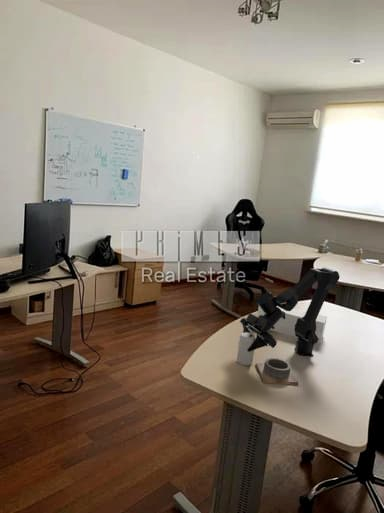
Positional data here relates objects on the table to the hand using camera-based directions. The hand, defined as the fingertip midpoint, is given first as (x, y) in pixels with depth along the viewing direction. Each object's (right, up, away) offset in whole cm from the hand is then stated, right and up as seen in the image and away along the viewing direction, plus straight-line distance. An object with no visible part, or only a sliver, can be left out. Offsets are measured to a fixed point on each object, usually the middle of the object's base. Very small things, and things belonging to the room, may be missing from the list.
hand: (243, 347), depth 152 cm
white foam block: (+28, -2, +41) cm, 50 cm away
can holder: (+12, -9, -5) cm, 16 cm away
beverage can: (+1, -7, +2) cm, 7 cm away
